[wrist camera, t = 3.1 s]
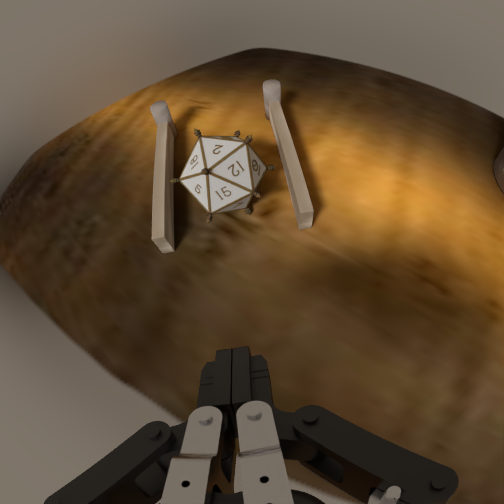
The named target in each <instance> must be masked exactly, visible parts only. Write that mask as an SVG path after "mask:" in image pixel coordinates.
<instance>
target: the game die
mask: <svg viewBox="0 0 504 504" xmlns="http://www.w3.org/2000/svg"><path fill="white" fill-rule="evenodd" d="M194 132H195V133H194V134H196V136H197V137H198V139H197V141H196V144H195V146H194V148H193V150H192V152H191V154H190V156H189V158H188V160H187V162H186V165H185V167H184V169H183V171H182V173H181V175H180V178H173V179H172V180H171V181H169V182H172V183H174V184H175V183H178V182H180V183H181V184H182V185H183V186H184V187H185V188H186V189H187V190H188V191H189V192H190V194H191V195H192V196H193V197H194V198H195V199H196V200H197V201H198V202H199V203H200V205H201V206H202V207H203V208H204V209H205V210H206V211H207V212H208V213H209V214H208V215H207V218H206V220H207V224H208V223H209V222H210V221H212V218H213V217H212V215H213V214H217V213H223V212H228V211H234V210H240V209H245V212H246V214H250V215H251V210H250V209H249V208H248V205H249V203H250V201H251V199H252V197H253V196H254V197H256V198H259V197H261V196H260V192H258V191H256V190H257V188H258V186H259V184H260V182H261V180H262V178H263V177H264V175H265V173H266V171H267V170H273V169H274V168H276V167H275V166H273V165H269V166H266V165H265V164H264V162H263V161H262V160H261V158H260V157H259V156H258V155H257V153H256V152H255V151H254V150H253V148H252V147H251V146H250V144H249V142H251V140H253V139H252V135H250V136H247V137H246V139H245V140H243V139H240V138H238V137H239V135H240V132H239V130H238V131H236V132H235V134H234V135H235V136H202V135H201V132H200V130H197V129H194Z"/></svg>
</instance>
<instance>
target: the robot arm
mask: <svg viewBox="0 0 504 504" xmlns="http://www.w3.org/2000/svg"><path fill="white" fill-rule="evenodd" d="M493 170H494V175H495V178H496V180H497V182H498V185H499V186H500V188H501V190H502V191H503V193H504V147H503V149H502V150H501V152H500V153H499V155H498V156H497V158H496V159H495V161H494V164H493ZM235 438H239V444H240V454H239V464H240V474H241V481H242V490H243V491H241V492H238V493H234V475H235V464H236V448H235ZM283 459H290V460H298V461H299V463H300V464H301V465H303V466H304V467H306V468H307V469H309V470H310V471H312V472H313V473H315V474H316V475H318V476H320V477H321V478H323V479H324V480H326V481H327V482H329V483H331V484H332V485H334V486H335V487H337V488H339V489H340V490H342V491H344V492H345V493H347V494H349V495H351V496H352V497H354V498H356V499H358V500H359V501H361V502H363V503H365V504H445V503H446V502H447V501H448V499H449V498H450V497H451V496H452V495H453V493H454V492H455V491H456V489H457V487H458V476H457V474H456V473H455V471H454V470H452V469H451V468H449V467H447V466H444V465H442V464H439V463H437V462H434V461H432V460H429V459H427V458H425V457H422V456H420V455H418V454H415V453H413V452H411V451H409V450H406V449H404V448H402V447H400V446H398V445H395V444H393V443H391V442H389V441H387V440H385V439H383V438H381V437H379V436H376V435H374V434H372V433H370V432H368V431H366V430H364V429H362V428H360V427H358V426H356V425H355V424H353V423H351V422H349V421H347V420H345V419H343V418H341V417H339V416H337V415H335V414H334V413H332V412H330V411H328V410H326V409H324V408H323V407H320V406H317V405H308V406H304V407H302V408H300V409H298V410H297V411H296V412H295V413H291V412H284V411H281V410H279V409H277V408H276V407H275V406H274V404H273V396H272V388H271V381H270V376H269V371H268V366H267V361H266V360H265V359H264V358H263V356H262V355H257V356H251V353H250V349H249V346H245V347H238V348H233V349H224V350H217V351H216V359H215V361H214V362H207V363H206V365H205V366H204V368H203V369H202V372H201V380H200V387H199V394H198V402H197V409H196V410H194V411H193V412H192V413H191V415H190V416H189V419H188V421H186V422H185V423H182V424H179V425H176V426H172V427H169V425H168V424H166V423H164V422H162V421H154V422H150V423H148V424H146V425H145V426H143V427H142V428H141V429H140V430H138V431H137V432H136V433H135V434H133V435H132V436H131V437H130V438H128V439H127V440H126V441H124V442H123V443H122V444H121V445H119V446H118V447H117V448H115V449H114V450H113V451H112V452H110V453H109V454H108V455H106V456H105V457H104V458H102V459H101V460H100V461H98V462H97V463H96V464H94V465H93V466H92V467H90V468H89V469H88V470H86V471H85V472H83V473H82V474H81V475H79V476H78V477H76V478H75V479H74V480H72V481H71V482H69V483H68V484H67V485H65V486H64V487H62V488H61V489H60V490H58V491H57V492H55V493H54V494H53V495H51V496H49V497H48V498H47V499H46V500H45V502H44V504H155V503H157V502H158V501H159V500H160V499H161V498H162V499H161V503H159V504H325V503H324V502H322V501H321V500H319V499H318V498H316V497H314V496H312V495H310V494H308V493H305V492H301V491H297V490H291V489H290V485H289V481H288V477H287V473H286V468H285V464H284V460H283Z"/></svg>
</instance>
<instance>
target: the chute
mask: <svg viewBox="0 0 504 504" xmlns="http://www.w3.org/2000/svg"><path fill="white" fill-rule="evenodd" d="M263 92H264V104H265V116H266V118H267V119H268V120H270V122H271V125H272V129H273V133H274V136H275V140H276V143H277V147H278V150H279V154H280V158H281V162H282V165H283V169H284V173H285V177H286V180H287V184H288V188H289V192H290V196H291V200H292V204H293V208H294V212H295V216H296V220H297V224H298V228H299V230H302V229H308V228H311V227H312V220H313V213H314V210H313V207H312V203H311V200H310V196H309V193H308V189H307V186H306V183H305V179H304V176H303V173H302V169H301V166H300V163H299V160H298V157H297V153H296V150H295V147H294V144H293V141H292V138H291V135H290V132H289V129H288V126H287V123H286V120H285V117H284V114H283V111H282V108H281V86H280V82H279V81H277V80H267V81H265V82H264V83H263ZM150 110H151V112H152V115H153V117H154V119H155V122H156V124H157V126H158V128H157V139H156V151H155V166H154V183H153V207H152V240H153V241H154V243H155V244H156V245H157V246H158V248H159V249H160V250H161V251H162V253H167V252H173V251H175V249H174V202H173V183H172V182H169V181H171V180H172V179H173V175H174V138H175V137H176V136H177V130H176V127H175V125H174V122H173V119H172V117H171V114H170V111H169V109H168V106H167V103H166V102H165V101H157V102H155V103H154V104H152V105H151V107H150Z"/></svg>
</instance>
